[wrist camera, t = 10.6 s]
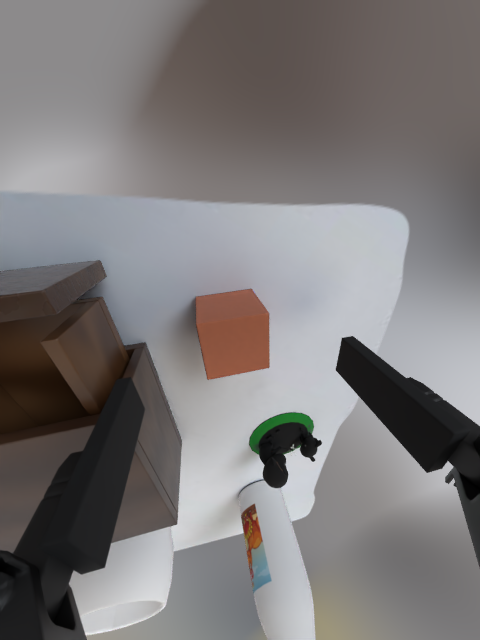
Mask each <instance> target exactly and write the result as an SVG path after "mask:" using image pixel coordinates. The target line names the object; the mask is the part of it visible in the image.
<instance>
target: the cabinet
mask: <svg viewBox="0 0 480 640" xmlns="http://www.w3.org/2000/svg"><path fill="white" fill-rule="evenodd" d="M124 347H125V350H126V352H127V354H128V357H129V359H130V361H129V364H128V366H127V368H126V371H125V373H124V375H123V378H127V377H131V378H132V380H133V383H134V385H135V387H136V389H137V391H138V394H139V396H140V398H141V400H142V403H143V405H144V407H145V413H144V417H143V421H142V425H141V428H140V432H139V436H138V440H137V444H136V448H135V452H134V456H133V460H132V464H131V468H130V471H129V475H128V479H127V483H126V487H125V491H124V495H123V499H122V503H121V507H120V511H119V514H118V518H117V522H116V526H115V530H114V534H113V538H112V542H111V543H114V542H118V541H121V540H125V539H128V538H132V537H135V536H139V535H142V534H146V533H149V532H153V531H156V530H160V529H163V528H167V527H170V526H173V525H177V519H178V514H177V513H178V501H179V483H180V465H181V447H182V440H181V438H180V435H179V432H178V429H177V427H176V424H175V421H174V419H173V416H172V413H171V410H170V408H169V405H168V402H167V399H166V397H165V394H164V391H163V388H162V386H161V383H160V380H159V378H158V375H157V372H156V369H155V367H154V364H153V361H152V358H151V356H150V353H149V350H148V348H147V345H146V343H139V344H133V345H127V346H124ZM99 416H100V414H97V415H92V416H87V417H82V418H77V419H72V420H67V421H63V422H58V423H53V424H48V425H43V426H38V427H33V428H28V429H24V430H19V431H14V432H9V433H4V434H0V550H4V551H9V552H11V553H13V552H14V550H15V549H16V547H17V545H18V543H19V541H20V539H21V537H22V535H23V534H24V532H25V530H26V528H27V526H28V524H29V522H30V521H31V519H32V517H33V515H34V513H35V511H36V509H37V507H38V506H39V504H40V502H41V500H42V499H43V498H44V494H45V493H46V491H47V489H48V487H49V486H50V485H51V481H52V479H53V478H54V476H55V474H56V472H57V470H58V468H59V467H60V466H61V464H62V463H63V462H64V461H65V460H66V459H67V457H68V456H69V455H70V454H71V453H74V452H79V451H83V450H84V448H85V445H86V443H87V441H88V439H89V437H90V435H91V433H92V431H93V429H94V426H95V424H96V422H97V420H98V418H99Z"/></svg>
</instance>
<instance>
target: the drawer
mask: <svg viewBox="0 0 480 640" xmlns="http://www.w3.org/2000/svg"><path fill="white" fill-rule="evenodd" d="M105 277H107V275H106V273H105V270H104V268H103V265H102V263H101V261H100V260H96V261H87V262H78V263H69V264H61V265H52V266H43V267H34V268H25V269H16V270H7V271H0V434H4V433H9V432H14V431H19V430H24V429H28V428H33V427H38V426H43V425H48V424H53V423H58V422H63V421H67V420H72V419H77V418H82V417H87V416H92V415H97V414H101V412H102V410H103V407H104V405H105V403H106V401H107V399H108V397H109V395H110V393H111V390H112V388H113V386H114V384H115V382H116V380H117V379H122V378H123V375H124V373H125V371H126V368H127V366H128V364H129V361H130V359H129V357H128V354H127V352H126V350H125V347H124V345H123V343H122V340H121V338H120V336H119V334H118V331H117V329H116V327H115V324H114V322H113V320H112V317H111V315H110V313H109V310H108V308H107V306H106V304H105V301H104V299H103V297H96V298H89V299H81V300H76V299H78V298H79V297H80V296H82V295H83V294H84V293H86V292H87V291H88V290H90V289H91V288H92V287H94V286H95V285H96V284H97V283H99V282H100V281H101V280H103V279H104V278H105Z"/></svg>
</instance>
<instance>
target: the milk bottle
mask: <svg viewBox="0 0 480 640" xmlns="http://www.w3.org/2000/svg"><path fill="white" fill-rule="evenodd" d="M239 504H240V511H241V518H242V524H243V531H244V537H245V544H246V550H247V556H248V563H249V569H250V575H251V581H252V587H253V593H254V598H255V603H256V607H257V611H258V615H259V618H260V621H261V624H262V627H263V630H264V632H265V634H266V637H267V639H268V640H316V639H315V623H314V607H313V599H312V593H311V588H310V584H309V580H308V576H307V573H306V569H305V566H304V562H303V559H302V556H301V552H300V549H299V546H298V542H297V539H296V536H295V532H294V529H293V526H292V523H291V520H290V516H289V513H288V510H287V507H286V503H285V500H284V497H283V494H282V491H281V488H272V487H270V486H269V485H268V484H267V483H266V482H265V480H264V481H259V482H256V483H253V484H251V485H249V486H247V487H246V488H244V489H243V490H242V492H241V493H240V495H239Z"/></svg>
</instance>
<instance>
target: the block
mask: <svg viewBox="0 0 480 640" xmlns="http://www.w3.org/2000/svg"><path fill="white" fill-rule="evenodd" d="M196 327H197V332H198V337H199V341H200V346H201V351H202V356H203V360H204V365H205V370H206V375H207V379H208V380H209V379H214V378H220V377H225V376H230V375H235V374H240V373H245V372H250V371H255V370H260V369H265V368H269V312H268V311H267V310H266V308H265V307H264V305H263V304H262V303H261V301H260V300H259V299H258V297H257V296H256V294H255V293H254V292H253V290H252V289H247V290H240V291H233V292H226V293H219V294H212V295H205V296H198V297H196Z"/></svg>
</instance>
